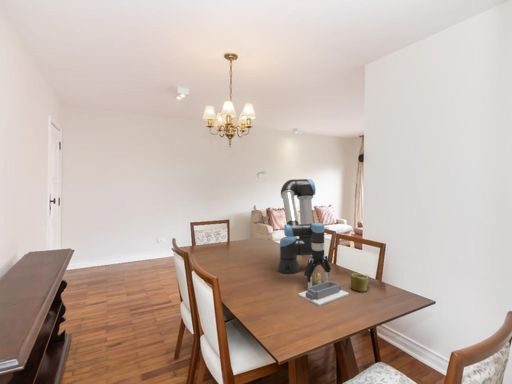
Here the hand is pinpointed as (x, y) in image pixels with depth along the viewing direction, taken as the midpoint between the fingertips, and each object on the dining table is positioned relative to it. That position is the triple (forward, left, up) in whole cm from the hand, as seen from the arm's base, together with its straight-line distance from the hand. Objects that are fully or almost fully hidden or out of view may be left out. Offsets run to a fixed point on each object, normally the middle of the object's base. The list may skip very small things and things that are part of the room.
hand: (318, 284), depth 166 cm
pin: (0, 0, -1) cm, 1 cm away
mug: (+17, +18, -1) cm, 25 cm away
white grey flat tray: (+11, -7, -1) cm, 13 cm away
